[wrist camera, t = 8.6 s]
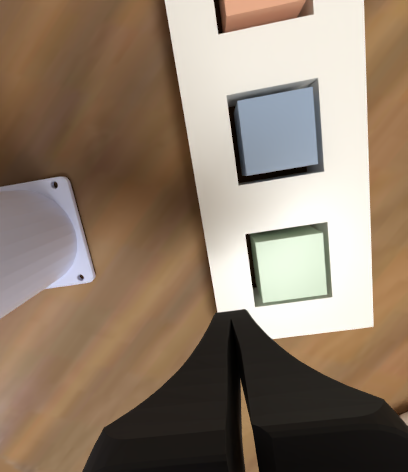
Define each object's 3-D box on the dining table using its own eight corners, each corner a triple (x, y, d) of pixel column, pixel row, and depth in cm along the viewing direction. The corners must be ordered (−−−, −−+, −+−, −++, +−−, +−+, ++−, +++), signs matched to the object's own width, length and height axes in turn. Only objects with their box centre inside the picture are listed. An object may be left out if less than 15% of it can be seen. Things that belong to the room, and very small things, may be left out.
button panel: (221, 321, 21) (223, 345, 18) (155, -76, 16) (142, -133, 13) (351, 305, 21) (373, 326, 18) (330, -118, 15) (358, -189, 12)
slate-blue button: (241, 175, 18) (246, 175, 15) (233, 113, 17) (237, 100, 14) (301, 165, 18) (318, 163, 15) (296, 101, 17) (312, 86, 14)
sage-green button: (256, 284, 20) (263, 302, 17) (249, 232, 19) (255, 242, 16) (310, 276, 20) (327, 294, 17) (306, 223, 19) (322, 232, 16)
